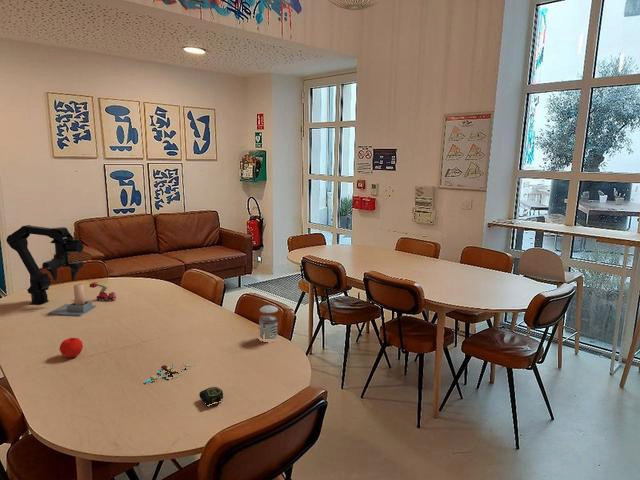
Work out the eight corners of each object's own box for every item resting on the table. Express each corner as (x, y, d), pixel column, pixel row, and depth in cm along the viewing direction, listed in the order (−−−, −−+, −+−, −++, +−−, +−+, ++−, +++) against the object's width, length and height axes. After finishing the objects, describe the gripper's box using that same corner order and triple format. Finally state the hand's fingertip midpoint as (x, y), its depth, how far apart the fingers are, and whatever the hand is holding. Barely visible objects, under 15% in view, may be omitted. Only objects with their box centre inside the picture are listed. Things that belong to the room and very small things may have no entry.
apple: (59, 362, 164) (58, 344, 163) (60, 354, 171) (59, 336, 170) (83, 358, 168) (82, 340, 167) (83, 350, 175) (82, 333, 174)
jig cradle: (48, 314, 213) (47, 307, 212) (65, 305, 227) (65, 298, 226) (80, 316, 212) (79, 308, 212) (95, 307, 226) (95, 299, 226)
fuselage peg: (75, 311, 216) (74, 287, 214) (75, 308, 220) (73, 284, 218) (85, 310, 219) (84, 286, 216) (84, 307, 222) (83, 284, 220)
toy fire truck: (113, 301, 236) (112, 284, 234) (90, 300, 237) (89, 283, 235) (117, 299, 239) (116, 283, 237) (93, 298, 240) (92, 281, 239)
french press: (283, 337, 195) (284, 283, 191) (270, 346, 185) (270, 290, 181) (265, 332, 199) (265, 280, 195) (250, 341, 189) (251, 286, 185)
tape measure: (198, 400, 142) (198, 389, 141) (218, 394, 146) (218, 384, 145) (205, 410, 136) (205, 399, 136) (226, 403, 140) (226, 393, 139)
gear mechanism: (137, 379, 154) (150, 388, 148) (136, 365, 153) (150, 374, 148) (186, 361, 169) (200, 369, 164) (186, 348, 169) (200, 356, 163)
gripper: (33, 254, 216) (36, 284, 218) (70, 255, 215) (72, 285, 218) (48, 250, 227) (50, 278, 229) (82, 251, 226) (85, 279, 229)
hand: (64, 280), depth 226 cm, fingers open, 9 cm apart
